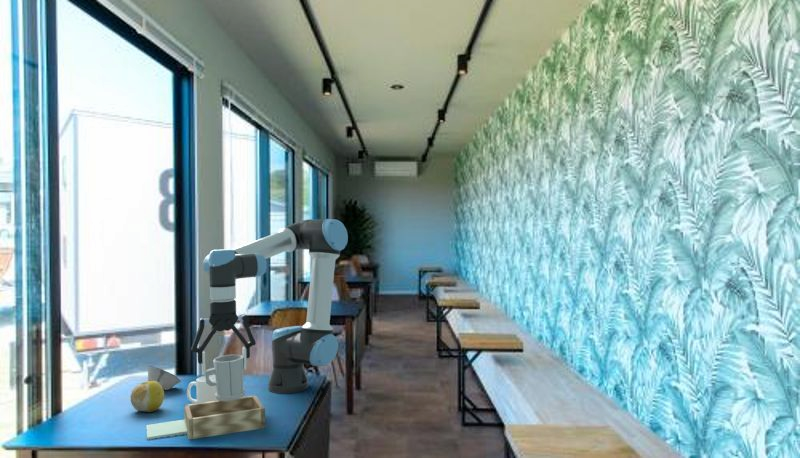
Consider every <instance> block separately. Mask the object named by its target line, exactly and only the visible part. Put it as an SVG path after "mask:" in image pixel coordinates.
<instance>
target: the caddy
mask: <svg viewBox="0 0 800 458" xmlns="http://www.w3.org/2000/svg"><path fill="white" fill-rule="evenodd" d="M183 407H184V411H183V412H184V419H185V424H186V429H187V434H186V435H187V439H188V440H195V439H200V438H201V439H202V438H207V437H214V436H221V435H228V434H229V435H230V434H234V433H241V432H247V431H253V430H260V429H265V428H266V408H265V407H264V405H263V404H262V403H261V401H260V399H259V398H258V397H257V396H256V395H254V394H253V395H247V396H246V395H245V396H243V397H242V398H240V399H237V400H233V401H219V400H217V401H210V402H203V403H188V404H184V405H183Z"/></svg>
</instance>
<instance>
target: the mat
mask: <svg viewBox="0 0 800 458" xmlns="http://www.w3.org/2000/svg"><path fill="white" fill-rule="evenodd" d="M145 428H146V430H147V431H146V441H149V439H150V440H156V439H155V438H157V439H161V438H160V437H164V438H167V437H166V436H170V437H175V435H177V436H182V435H183V434H184V435H187V429H186V424H185V418H184V419H179V420H178V419H177V420H172V421H165V422H159V423H158V422H157V423H151V424H146V427H145Z"/></svg>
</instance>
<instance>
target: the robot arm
mask: <svg viewBox="0 0 800 458" xmlns="http://www.w3.org/2000/svg"><path fill="white" fill-rule="evenodd" d="M348 239H349V235H348V230H347V228H346V227H345V225H344V223H343V222H342V221H340V220H338V219H334V218H333V219H332V218H321V219H319V218H318V219H305V220H300V221H297V222H295V223H292V224H290V225H287V226H283V227H282V228H279V230H278V231H277V232H275V233H273V234H270V235H267V236H264V237H261V238H259V239H256V240H254V241H251V242H247V243H245V244H242V245H240V246H237V247H234V248H232V249H230V248H229V249H228V248H226V249H224V248H223V249H213V250H211V251H210V252H209V254H207V255H206V256H205V258H204V259H203V265H202V266H203V270H204V272H205V273H206V274H207V275H208V276H209V299H210V300H211V301H210V302H209V307H210V308H209V312H210V314H209V315H210V316H209V318H203V317H200V318H199V322H198V323H199V324H198V328H197V331H196V333H195V337H194V339H193V342H192V345H191V348H190V351H191V352H193V353H197V363H198V365H201V375H202V376H205V375H206V373H205V372H206V352H205V349H206V347H207V346H208V344H209V343H210V342H211V340H212V338H213V336H214V335H215V334H216V333H217V332H224V331H226V332H228V331H231V330H232V332H233V333H234V335H236V337H237V338H238V339H239V340H240V341H241V343H242V345H244V346H242V347H241V348H242V349H241V350H242V354H241V355H242V356H243V371H247V370H248V367H247V366H248V365H247V363H248V362H247V359H250V357H251V349H250V348H251V347H253V346H256V344H257V343H256V339H255V337H254V336H253V332H252V331H251V328H250V326H249V323H248V316H247V315H246V314H242V315H237V301H236V300H235V299H236V298H237V289H236V288H237V287H236V286H237V285H236V284H237V283H236V282H237V280H238V279H246V278H247V279H249V278H257V277H260V276H263V275H264V274H265V273H266V271H267V268H268V267H267V266H268V265H267V263H268V262H267V260H266V259H270V258H272V257H274V256H277V255H279V254H282V253H284V252H287V253H291V252H294V251H299V250H300V251H301V250H308V254H309V255H310V257H311V270H310V278H309V279H310V280H309V291H308V299H307V300H308V301H307V310H306V311H307V312H306V321H305V323H304V324H303V325H294V326H285V327H281V328H276V329H275V330H273V332H272V336H271V337H272V339H271V350H272V351H271V353H272V370H271V373H270V376H269V379H268V383H267V389H268V391H269V392H271V393H274V394H294V393H299V392H303V391H305V390H308V388H309V385H310V384H309V379H308V375H307V373H306V369H305V366H304V365H310V366H313V367H325V366H328V365H329V364H331V363H332V362H333V360H335V358H336V356H337V354H338V350H339V341H338V338H337V337H336V336H335V335H334V334H333V333H334V328H333V327H332V326H331V324H330V322H331V321H330V320H331V311H332V300H333V299H332V298H333V290H334V289H333V288H334V280H335V279H334V278H335V277H334V276H335V267H336V260H337V259H338V258H339V257H340V255H341V251H342V250H344V249H345V248H346V246H347V244H348V242H349V240H348ZM237 321H239V322H240V323H242V326H243V328H244V331H245V334H246V335H247V336H246V337H247V338H248V340H249V341H247V340H246V339H245V337H244V336H243V335H242V333H241V332H240V331H239V329H238V328H237V327H236V326H235V325H236V323H237ZM208 323H209V324H210V325H211V327H210V330H209V331H208V332H207V334H206V335H205V337H204V339H203V341H202V342H201V343H200V341H201V339H202V335H203V332H204V329H205V327H206V326H207V325H208ZM199 344H200V345H199ZM198 346H199V347H198Z"/></svg>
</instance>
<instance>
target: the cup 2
mask: <svg viewBox="0 0 800 458" xmlns="http://www.w3.org/2000/svg"><path fill="white" fill-rule="evenodd" d="M212 362H213V367H211V368H208V369H205V373H206V375H204V376H205V379H206V383H207V384H208V385H209V386H216V393H215V398H216V399H217V400H219V401H233V400H237V399H240V398H242V397H245V396H246V389H245V388H244V369H243V356H242V354H226V355H221V356H218V357H217V356H216V357H215V358H214V359H213V360H212ZM213 374H214V375H215V378H216V381H214V382H212V381H211V380H210V379H209V375H213Z"/></svg>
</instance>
